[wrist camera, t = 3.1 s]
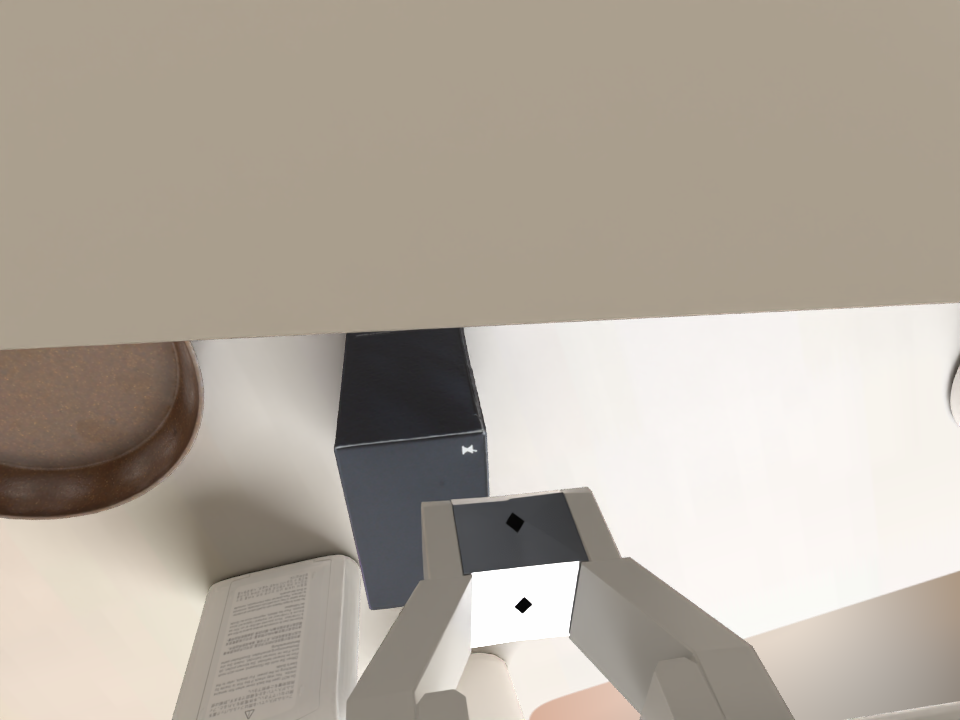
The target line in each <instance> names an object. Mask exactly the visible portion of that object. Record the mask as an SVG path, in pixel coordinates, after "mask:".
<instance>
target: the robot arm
mask: <svg viewBox="0 0 960 720" xmlns="http://www.w3.org/2000/svg"><path fill="white" fill-rule="evenodd" d="M950 405H951V411H952V415H953V417H954V419H955V421H956V423H957V424H958V425H959V427H960V366H959V368H958V370H957V373H956V375H955V378H954V381H953V385H952V389H951V397H950ZM421 524H422V553H423V573H424V580H421V581H419V583H418V585H417V586H416V588H415V589H414V591H413V593H412V594H411V596H410V598H409V599H408V601H407V603H406V604H405V606H404V608H403V609H402V611H401V612H400V614H399V616H398V617H397V619H396V621H395V622H394V624H393V626H392V627H391V629H390V630H389V632H388V634H387V635H386V637H385V639H384V640H383V642H382V644H381V645H380V647H379V648H378V650H377V652H376V653H375V655H374V657H373V658H372V660H371V662H370V663H369V665H368V666H367V668H366V670H365V671H364V673H363V675H362V676H361V678H360V680H359V681H358V683H357V685H356V686H355V688H354V689H353V691H352V693H351V694H350V696H349V698H348V699H347V701H346V720H469V715H468V709H467V702H466V696H464V695H463V694H461V693H460V692H458V691H457V690H456V687H457V685H458V682H459V680H460V678H461V675H462V673H463V670H464V668H465V665H466V663H467V661H468V658H469V656H470V653H471V648H474V647H480V646H486V645H493V644H499V643H505V642H512V641H518V640H527V639H537V638H547V637H557V636H567V635H569V638H570V639H571V641H572V642H573V643H574V644H575V645H576V646H577V647H578V648H579V649H580V650H581V651H582V652H583V653H584V654H585V656H586V657H587V658H588V659H589V660H590V661H591V662H592V663H593V664H594V665H595V666H596V667H597V668H598V669H599V671H600V672H601V673H602V674H603V675H604V676H605V677H606V678H607V679H608V680H609V681H610V682H611V683H612V684H613V686H614V687H615V688H616V689H617V690H618V691H619V692H620V693H621V694H622V695H623V696H624V697H625V698H626V699H627V701H628V702H629V703H630V704H631V705H632V706H633V707H634V708H635V709H636V710H637V711H638V712H639V713H640V714H641V717H640V720H795V719H794V717H793V715H792V714H791V712H790V710H789V709H788V707H787V705H786V703H785V702H784V700H783V698H782V696H781V695H780V693H779V691H778V690H777V688H776V686H775V684H774V683H773V681H772V679H771V677H770V676H769V674H768V672H767V671H766V669H765V667H764V665H763V664H762V662H761V660H760V659H759V657H758V655H757V653H756V652H755V650H754V648H753V646H751V645H750V644H749V643H747V642H746V641H745V640H743V639H742V638H740V637H739V636H738V635H736V634H735V633H734V632H732V631H731V630H729V629H728V628H727V627H725V626H724V625H723V624H721V623H720V622H718V621H717V620H716V619H714V618H713V617H712V616H710V615H709V614H707V613H706V612H705V611H703V610H702V609H701V608H699V607H698V606H697V605H695V604H694V603H692V602H691V601H690V600H688V599H687V598H686V597H684V596H683V595H681V594H680V593H679V592H677V591H676V590H675V589H673V588H672V587H670V586H669V585H668V584H666V583H665V582H664V581H662V580H661V579H659V578H658V577H657V576H655V575H654V574H653V573H651V572H650V571H648V570H647V569H646V568H644V567H643V566H642V565H640V564H639V563H637V562H636V561H635V560H633V559H632V558H631V557H627V558H622V557H621V555H620V553H619V550H618V548H617V546H616V544H615V542H614V539H613V537H612V535H611V533H610V530H609V528H608V526H607V524H606V522H605V519H604V517H603V515H602V513H601V510H600V508H599V506H598V504H597V502H596V499H595V497H594V495H593V493H592V491H591V490H590V489H589V488H588V487H582V488H572V489H562V490H560V491H559V490H553V491H544V492H534V493H524V494H515V495H505V496H496V497H482V498H467V499H452V500H451V501H450V500H448V501H432V502H422V503H421ZM846 720H960V701H958V702H951V703H945V704H939V705H933V706H927V707H921V708H914V709H909V710H902V711H896V712H890V713H884V714H877V715H871V716H865V717H859V718H852V719H846Z"/></svg>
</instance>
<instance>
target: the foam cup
mask: <svg viewBox="0 0 960 720" xmlns="http://www.w3.org/2000/svg"><path fill="white" fill-rule="evenodd" d="M456 690H457V691H458V692H460V693H461V694H463V695H464V696H466V702H467V709H468V715H469V720H525V719H524V716H523V713H522V710H521V707H520V704H519V701H518V698H517V695H516V692H515V689H514V686H513V683H512V680H511V677H510V674H509V672H508V669H507V666H506V663H505V661H504V660H502V659H501V658H499V657H497V656H496V655H493V654H486V653H479V652H478V653H471V654H470V656H469V658H468V661H467V663H466V665H465V668H464V670H463V673H462V675H461V678H460V680H459V682H458V685H457V687H456Z"/></svg>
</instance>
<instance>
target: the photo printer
mask: <svg viewBox="0 0 960 720" xmlns="http://www.w3.org/2000/svg"><path fill="white" fill-rule="evenodd" d="M360 587H361V571H360V568H359V566H358V564H357V563H356V562H355V561H354V560H353V559H351V558H350V557H348V556H344V555H332V556H325V557H320V558H315V559H311V560H306V561H302V562H297V563H293V564H288V565H284V566H279V567H275V568H271V569H267V570H263V571H258V572H254V573H249V574H245V575H241V576H237V577H233V578H230V579H226V580H223V581H220V582H218V583H215V584H213V585H212V586H211V587H210V589H209V591H208V594H207V597H206V601H205V604H204V608H203V611H202V615H201V619H200V622H199V626H198V629H197V633H196V636H195V640H194V643H193V647H192V651H191V654H190V658H189V661H188V665H187V668H186V672H185V675H184V679H183V682H182V686H181V689H180V693H179V696H178V700H177V703H176V707H175V710H174V713H173V717H172V720H346V701H347V699H348V698H349V696H350V694H351V693H352V691H353V689H354V688H355V686H356V685H357V671H358V643H359V616H360Z"/></svg>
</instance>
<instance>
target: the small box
mask: <svg viewBox="0 0 960 720" xmlns="http://www.w3.org/2000/svg"><path fill="white" fill-rule="evenodd" d="M334 453H335V457H336V461H337V466H338V470H339V474H340V479H341V483H342V487H343V492H344V496H345V501H346V505H347V509H348V514H349V518H350V522H351V527H352V531H353V536H354V540H355V545H356V549H357V554H358V558H359V563H360V567H361V572H362V577H363V581H364V586H365V590H366V595H367V600H368V604H369V608H370V609H371V610H378V609H388V608H395V607H403V606H405V604H406V603H407V601H408V599H409V598H410V596H411V594H412V593H413V591H414V589H415V588H416V586H417V585H418V583H419V581H421V580H424V573H423V553H422V524H421V503H422V502H432V501H448V500H450V501H451V500H452V499H467V498H482V497H489V471H488V452H487V433H486V427H485V423H484V419H483V414H482V410H481V407H480V401H479V397H478V392H477V389H476V385H475V379H474V376H473V370H472V368H471V365H470V360H469V355H468V351H467V345H466V340H465V335H464V328H463V327H457V328H437V329H417V330H396V331H376V332H356V333H346V343H345V354H344V364H343V373H342V383H341V392H340V402H339V411H338V418H337V430H336V439H335V445H334Z"/></svg>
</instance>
